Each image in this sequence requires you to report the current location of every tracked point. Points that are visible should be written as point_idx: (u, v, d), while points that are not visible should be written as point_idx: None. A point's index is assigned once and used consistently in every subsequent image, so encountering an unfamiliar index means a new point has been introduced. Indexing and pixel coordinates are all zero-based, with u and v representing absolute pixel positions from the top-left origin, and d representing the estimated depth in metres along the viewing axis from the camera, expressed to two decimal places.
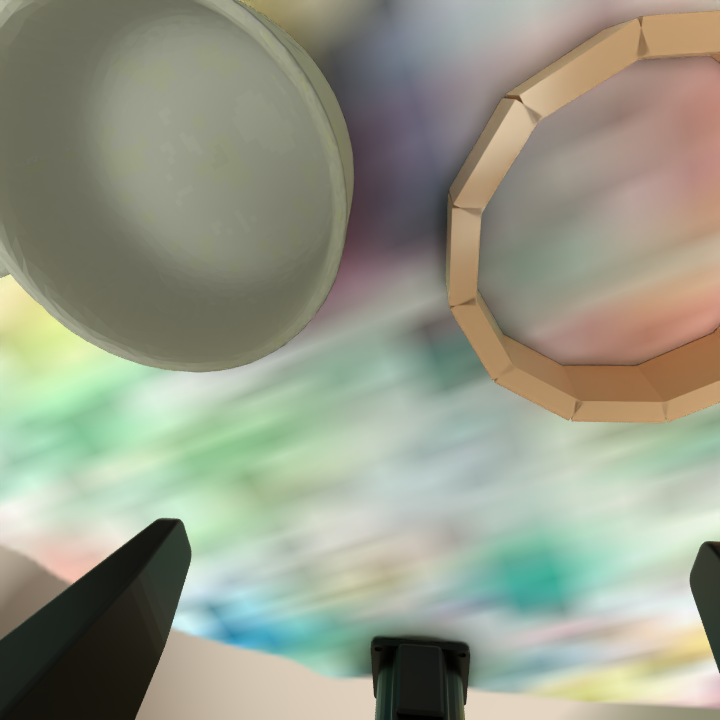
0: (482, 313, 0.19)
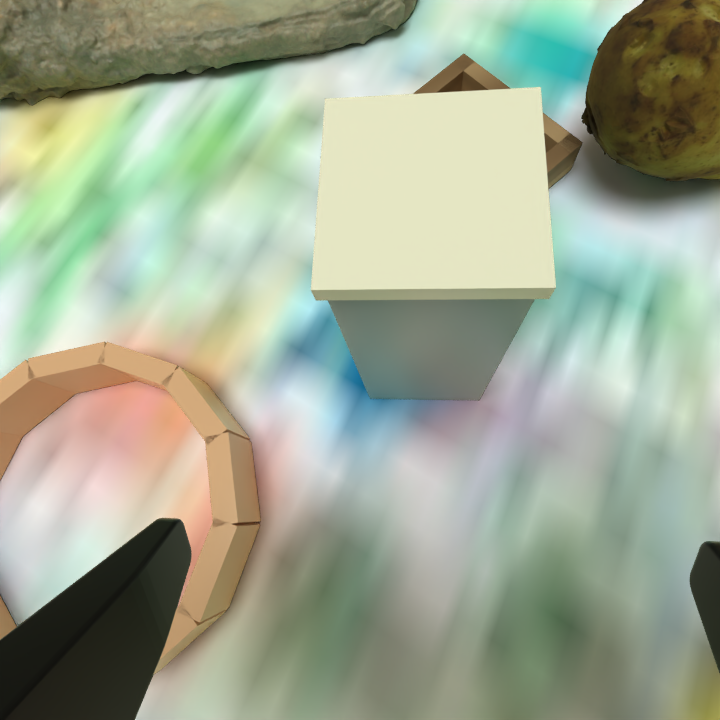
0: None
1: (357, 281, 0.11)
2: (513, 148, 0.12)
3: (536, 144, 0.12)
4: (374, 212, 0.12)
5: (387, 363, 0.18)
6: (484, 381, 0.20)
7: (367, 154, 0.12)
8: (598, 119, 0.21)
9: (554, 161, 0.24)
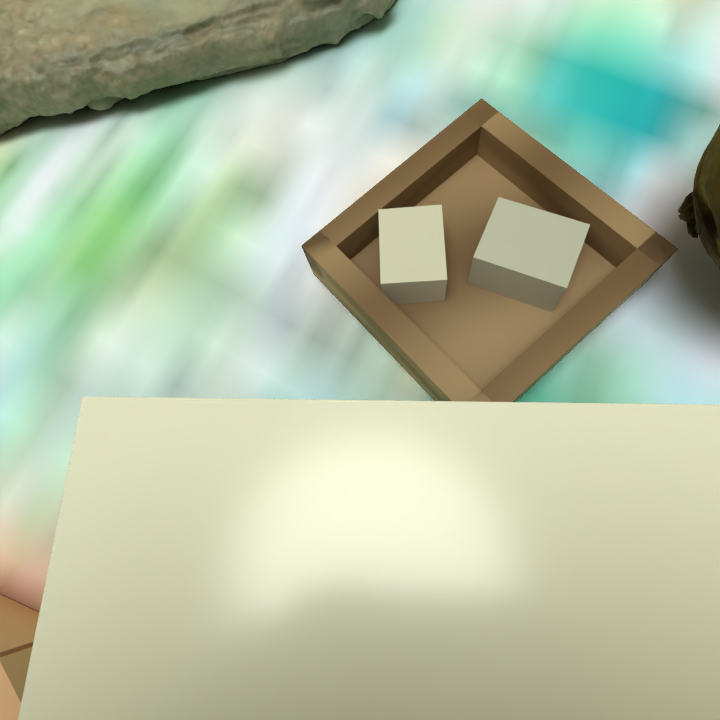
0: None
1: None
2: None
3: None
4: None
5: None
6: None
7: (195, 674, 0.03)
8: None
9: (633, 280, 0.15)
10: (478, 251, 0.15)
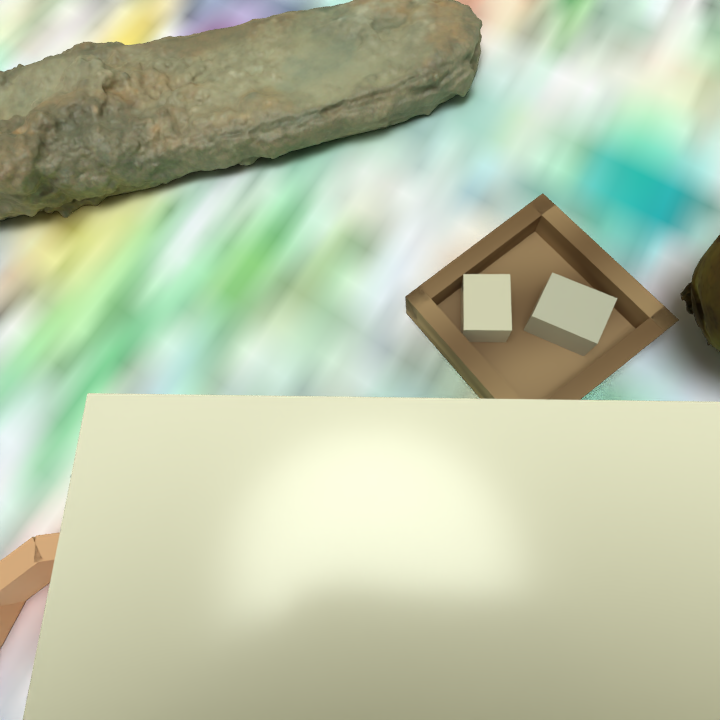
0: None
1: None
2: None
3: None
4: None
5: None
6: None
7: (201, 669, 0.03)
8: (711, 322, 0.18)
9: (645, 340, 0.21)
10: (535, 312, 0.21)
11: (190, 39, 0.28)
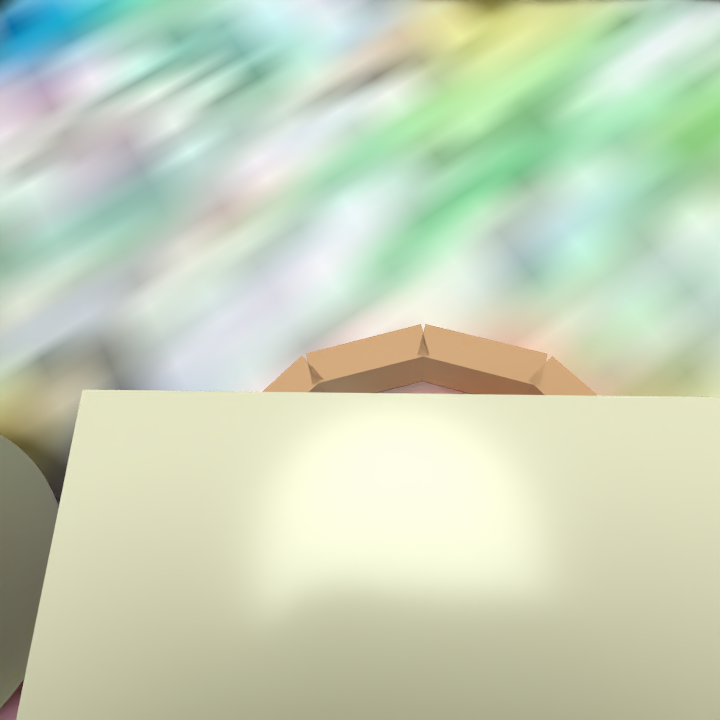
0: None
1: None
2: None
3: None
4: None
5: None
6: None
7: (196, 664, 0.03)
8: None
9: None
10: None
11: None
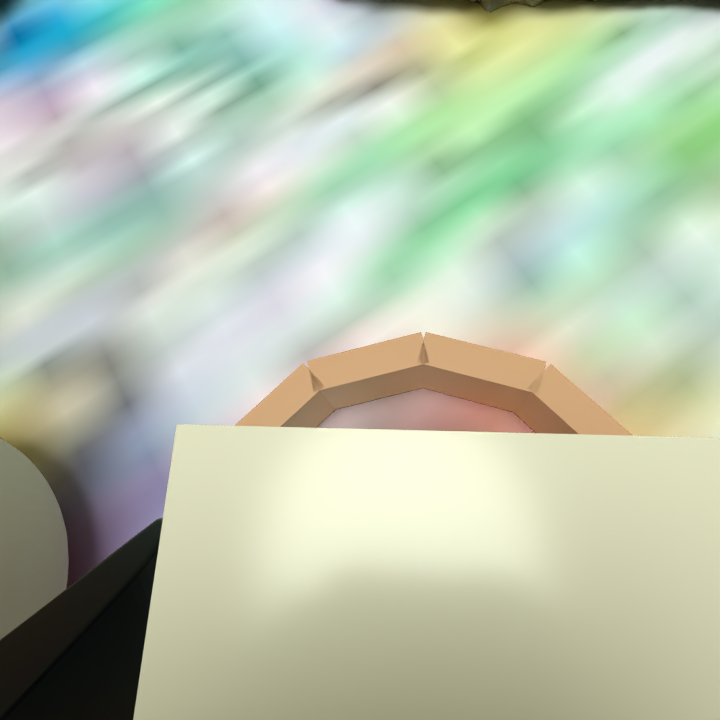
0: None
1: None
2: (675, 647, 0.04)
3: None
4: None
5: None
6: None
7: (268, 621, 0.05)
8: None
9: None
10: None
11: None
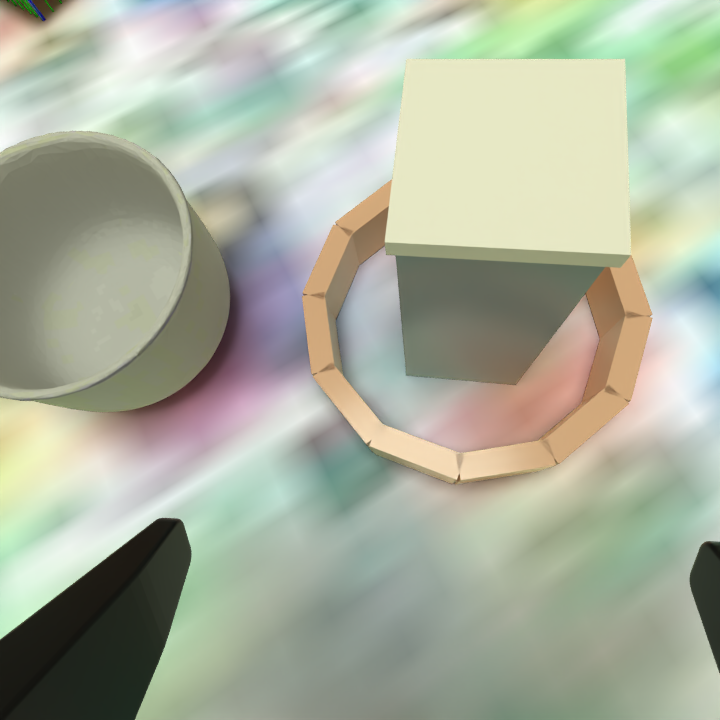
0: (342, 376, 0.21)
1: (431, 236, 0.12)
2: (594, 117, 0.12)
3: (617, 115, 0.12)
4: (451, 171, 0.12)
5: (435, 335, 0.18)
6: (526, 362, 0.20)
7: (446, 115, 0.13)
8: None
9: None
10: None
11: None
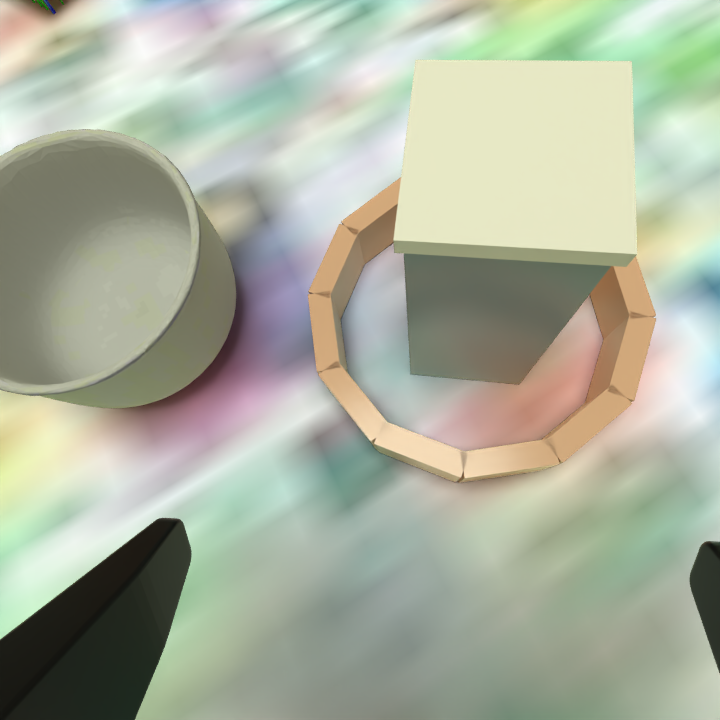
0: (347, 374, 0.21)
1: (439, 235, 0.12)
2: (601, 118, 0.12)
3: (624, 116, 0.12)
4: (459, 170, 0.12)
5: (440, 333, 0.18)
6: (531, 362, 0.20)
7: (454, 115, 0.13)
8: None
9: None
10: None
11: None
